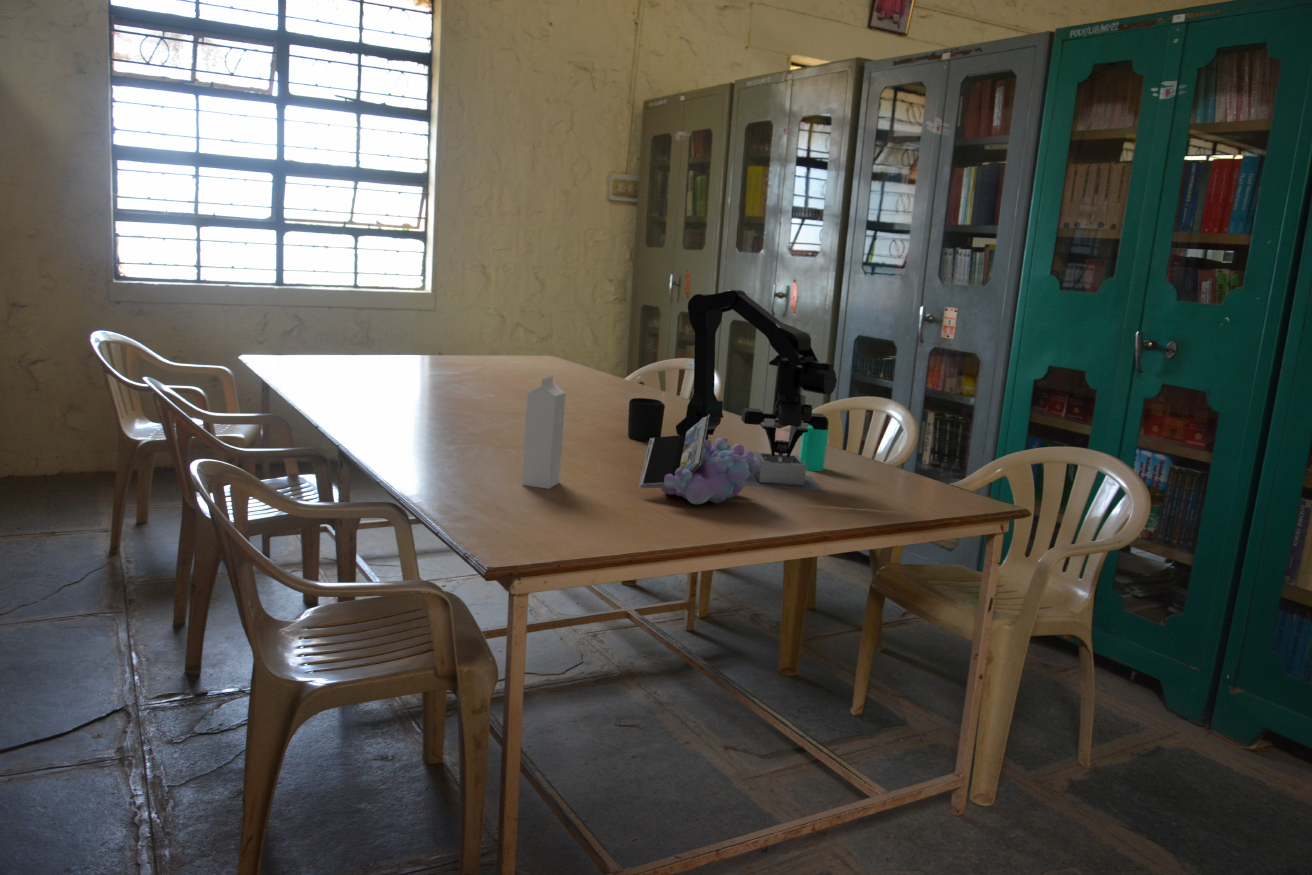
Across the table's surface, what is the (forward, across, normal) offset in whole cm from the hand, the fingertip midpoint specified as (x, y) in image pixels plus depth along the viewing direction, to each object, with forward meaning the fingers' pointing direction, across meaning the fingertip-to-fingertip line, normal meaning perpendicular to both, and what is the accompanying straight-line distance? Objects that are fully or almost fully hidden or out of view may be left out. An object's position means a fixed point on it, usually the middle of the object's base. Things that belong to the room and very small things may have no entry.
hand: (780, 456), depth 212 cm
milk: (+6, -52, -18) cm, 55 cm away
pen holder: (+6, -29, +39) cm, 49 cm away
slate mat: (+6, 0, 0) cm, 6 cm away
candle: (+6, +11, +16) cm, 20 cm away
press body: (+5, -1, 0) cm, 6 cm away
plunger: (+5, 0, 0) cm, 5 cm away
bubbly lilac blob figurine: (+6, -20, -21) cm, 30 cm away
